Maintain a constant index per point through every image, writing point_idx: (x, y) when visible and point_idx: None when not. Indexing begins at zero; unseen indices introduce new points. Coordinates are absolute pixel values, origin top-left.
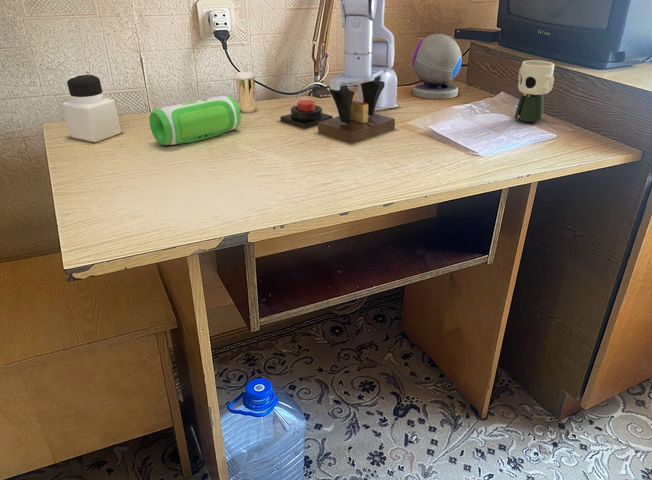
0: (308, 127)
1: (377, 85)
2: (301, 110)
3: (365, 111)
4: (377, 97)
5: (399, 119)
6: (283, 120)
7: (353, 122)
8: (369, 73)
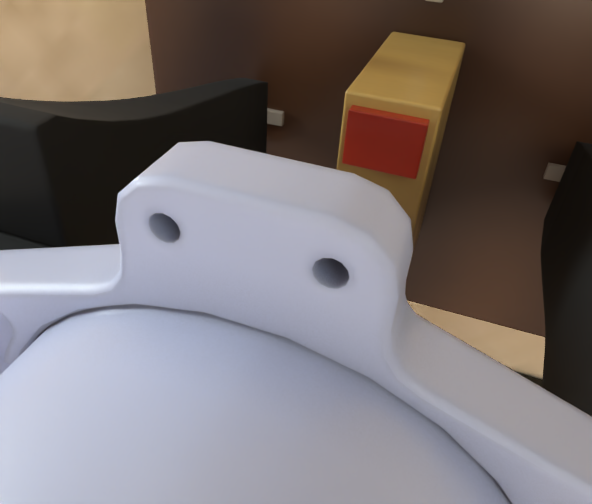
0: (540, 382)
1: (59, 150)
2: None
3: (412, 73)
4: (131, 104)
5: (7, 6)
6: None
7: (480, 137)
8: (142, 367)
